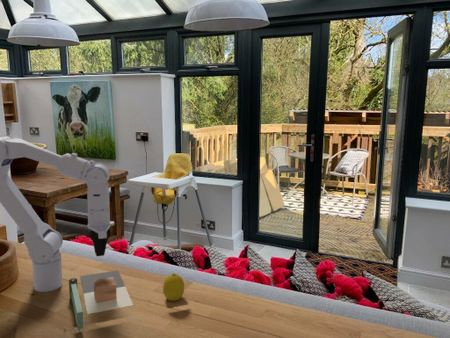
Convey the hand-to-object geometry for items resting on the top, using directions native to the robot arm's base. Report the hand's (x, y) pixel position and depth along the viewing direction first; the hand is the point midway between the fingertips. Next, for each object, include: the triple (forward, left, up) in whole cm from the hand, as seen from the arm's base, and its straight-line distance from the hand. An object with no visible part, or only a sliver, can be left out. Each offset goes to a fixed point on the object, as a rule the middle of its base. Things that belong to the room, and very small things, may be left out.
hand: (100, 255), depth 106 cm
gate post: (+6, -8, -9) cm, 13 cm away
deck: (+4, 0, -9) cm, 10 cm away
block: (+8, 0, -8) cm, 12 cm away
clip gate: (+15, -7, -8) cm, 18 cm away
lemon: (+16, +16, -10) cm, 25 cm away
